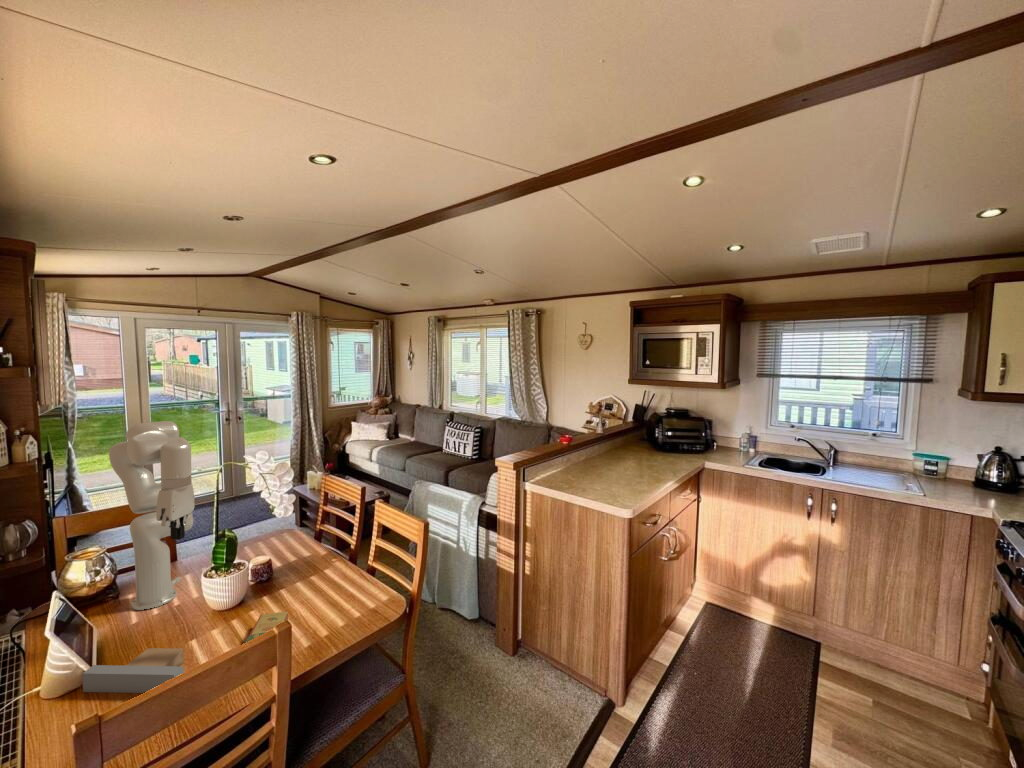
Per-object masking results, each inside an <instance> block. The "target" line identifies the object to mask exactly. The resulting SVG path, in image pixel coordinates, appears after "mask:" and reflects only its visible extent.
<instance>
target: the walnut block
mask: <svg viewBox="0 0 1024 768" xmlns="http://www.w3.org/2000/svg"><path fill="white" fill-rule="evenodd" d="M184 659H185V658H184V648H171V647H166V648H165V647H162V648H161V647H158V648H157V647H150V648H149V647H148V648H146V649H145V650H144V651H142V652H141V653H140V654H138V655H137V656H136V657H134V659H133V660H131V661H130V662H129V663H127V664H126V665H125V666H181V667H182V665H183V664H184V662H185V660H184Z"/></svg>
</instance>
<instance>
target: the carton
mask: <svg viewBox="0 0 1024 768" xmlns="http://www.w3.org/2000/svg"><path fill="white" fill-rule="evenodd" d="M287 620H288V621H289V612H288V611H281V612H280V611H279V612H272V613H265V614H260V615H259V617H258V619H257V620H256V622H255V625H254V626H253V628H252V630H251V631H250V634H249V635H248V637H247V638H246V640H245V642H244V644H245V643H246V642H248V641H250V640H252V639H254V638H256V637H258V636H260V635H262V634H264V633H266V632H267V631H269V630H271V629H273V628H274V627H275V626H276V625H277V624H279V623H281V622H283V621H287Z"/></svg>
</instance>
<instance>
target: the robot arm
mask: <svg viewBox="0 0 1024 768" xmlns="http://www.w3.org/2000/svg"><path fill="white" fill-rule="evenodd" d="M125 439H126V441H120V442H118V443H115V444H114V445H112V446H111V447H110V448H109V451H108V457H109V463H110V465H111V468H112V470H113V471H114V472H115V474H116V475H117V476H118V478H119V479H120V480H121V482H122V484H123V487H124V491H125V496H126V500H127V502H128V503H127V504H128V506H129V508H130V511H131V512H132V513H133V514H135V515H136V514H137V515H138V514H139V516H137V517H134V519H132V521H131V522H130V524H129V533H130V538H131V540H132V545H133V552H134V553H133V554H134V568H135V569H134V574H135V591H136V592H135V593H136V594H135V595H136V597H135V598H134V599H133V600H132V601H131V602H130V608H131V609H132V610H134V611H135V610H136V611H144V609H147V610H151V609H150V608H152V609H155V608H158V607H161V606H164V605H165V604H167V603H170V602H171V601H173V600H174V599H175V598H176V597H177V595H178V592H177V589H176V588H174V587H175V585H177V584H178V583H180V582H181V580H182V579H181V577H180V576H176V577H175V578H173V579H172V576H171V575H172V573H171V570H172V569H171V551H170V550H171V549H170V546H168V544H167V543H165V542H164V541H162V539H164V538H166V537H170V539H171V540H183V538H185V537H186V535H185V532H187V531H189V530H190V529H192V527H193V525H194V516H193V511H194V509H195V504H196V503H195V501H196V500H195V491H194V487H193V483H192V446H191V444H190V443H189V442H188V440H187V439H186V438H184V437H180V427H179V426H178V425H177V424H176V423H175V422H174V421H172V420H163V421H149V422H140V423H137V424H134V425H132V426H131V427H129V428H128V429H127V431H126V434H125ZM155 464H160V483H158V482H156V480H155V477H154V475H153V473H152V471H151V470H149V469H148V468H145V467H144V466H147V465H155ZM140 514H142V515H140ZM172 599H173V600H172ZM163 604H164V605H163ZM154 607H155V608H154Z"/></svg>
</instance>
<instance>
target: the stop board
mask: <svg viewBox="0 0 1024 768" xmlns="http://www.w3.org/2000/svg"><path fill="white" fill-rule="evenodd" d="M184 669H185V667H184V666H182V665H181V666H126V665H116V664H115V665H111V664H110V665H108V664H98V665H97V664H93V665H92V666H91V667H89V668H87V669H86V670H85V671H84V672H82V674H81V675H82V677H81V678H82V692H83V693H115V694H116V693H117V694H118V693H121V694H122V693H124V694H127V693H128V694H132V693H133V694H139V693H140V694H145V693H144V692H146V691H148V690H150V689H152V688H154V687H156V686H158V685H160V684H162V683H164V682H165V681H167V680H169V679H172V678H174V677H176V676H178V675H180V674H182V673H184V672H185V671H184ZM184 674H185V673H184Z"/></svg>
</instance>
